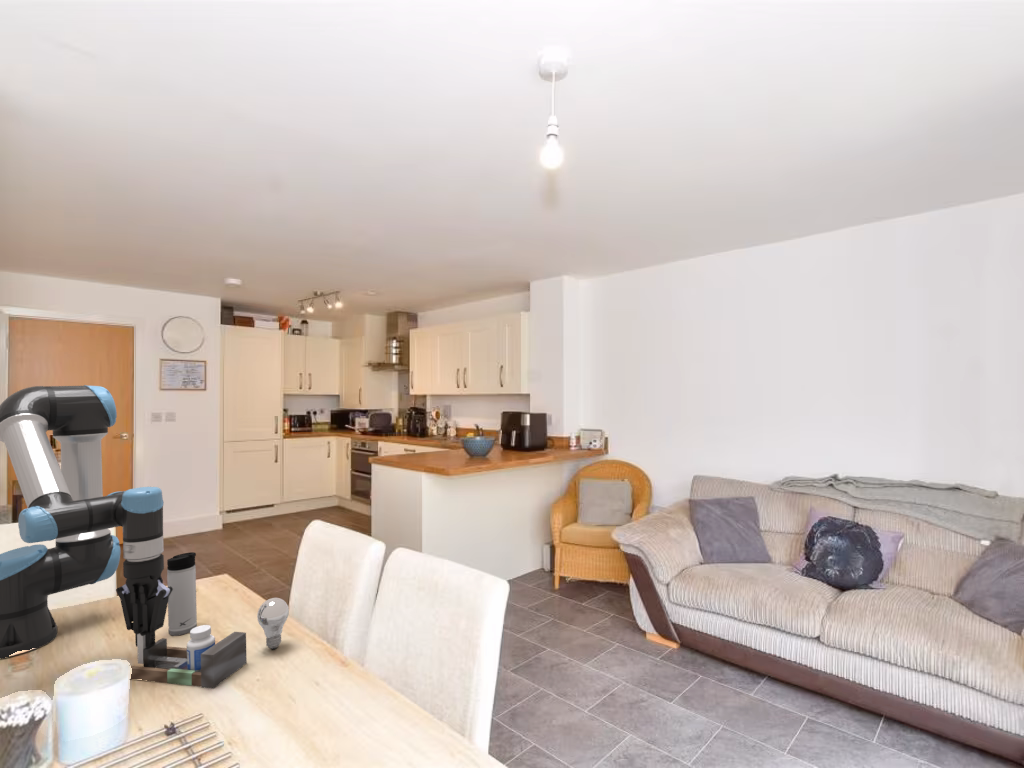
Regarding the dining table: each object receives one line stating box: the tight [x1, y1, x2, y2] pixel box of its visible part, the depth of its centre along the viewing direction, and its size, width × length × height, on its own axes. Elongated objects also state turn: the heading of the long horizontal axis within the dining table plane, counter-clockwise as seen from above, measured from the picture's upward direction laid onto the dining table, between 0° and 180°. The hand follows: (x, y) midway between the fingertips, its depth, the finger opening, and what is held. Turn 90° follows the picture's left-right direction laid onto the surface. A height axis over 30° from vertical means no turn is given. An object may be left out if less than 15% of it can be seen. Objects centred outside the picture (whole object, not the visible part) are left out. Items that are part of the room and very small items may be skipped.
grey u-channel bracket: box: [142, 637, 188, 670], centre depth 117 cm, size 9×6×5 cm, turn 79°
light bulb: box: [256, 597, 290, 650], centre depth 125 cm, size 7×7×12 cm
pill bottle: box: [186, 624, 216, 672], centre depth 115 cm, size 6×5×10 cm
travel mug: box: [166, 551, 198, 637], centre depth 136 cm, size 6×7×20 cm
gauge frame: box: [130, 631, 248, 689], centre depth 116 cm, size 23×10×7 cm, turn 79°
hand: (145, 660), depth 118 cm, fingers closed
